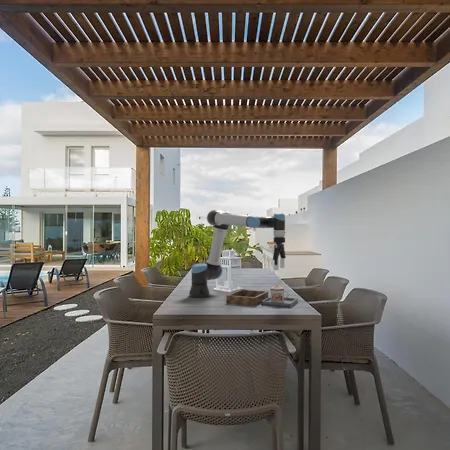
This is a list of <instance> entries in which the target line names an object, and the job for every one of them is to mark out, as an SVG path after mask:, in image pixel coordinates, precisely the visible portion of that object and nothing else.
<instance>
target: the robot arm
mask: <svg viewBox="0 0 450 450" xmlns="http://www.w3.org/2000/svg"><path fill="white" fill-rule="evenodd" d="M272 215H273V216H258V215H257V216H256V215H245V214H232V213H231V212H230V211H227V210H220V209H219V210H217V209H213V210H210V211H209V212H208V214H207V215H206V221H207V223H208V224H209V225H211V226H212V227H213V229H214V230H213V235H212V240H211V246H210V251H209V255H208V259H207V260H206V261H205V263H203V262H202V263H201V262H200V263H196V264H193V265H192V266H191V270H190V271H191V285H190V290H189V293H188V296H189V297H190V298H195V299H197V298H198V299H199V298H202V297H203V298H208V297H210V296H211V293H210V290H209V287H208V281H212V280H217V279H220V278H221V276H222V274H223V266H222V263H221V261H220V260H221V256H222V250H223V246H224V242H225V236H226V232H227V231H229V227H230V226H234V227H243V228H244V227H246V228H251V229H273V243H274V245H273V246H274V248H273V255H272V261H273V269H274V270H273V271H280V270H279V268H280V269H285V259H286V258H287V257H286V252H285V243H286V238H285V237H286V233H287V232H286V217H285V214H284V213H274V214H272ZM279 256H280V259H279ZM279 261H280V262H279ZM279 265H280V266H279Z"/></svg>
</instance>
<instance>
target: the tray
mask: <svg viewBox="0 0 450 450" xmlns="http://www.w3.org/2000/svg"><path fill="white" fill-rule="evenodd" d="M298 300H299V299H298V298H296V297H287V298H286V299H284V302H283V303H279V302H271V295H270V296H268V298H266V299H264V300H263V301H261V303H260V305H261V306H267V307H276V308H287V307H288V308H289V309H291V308H292V307H293V306H294V305H296V304H298V302H299V301H298Z"/></svg>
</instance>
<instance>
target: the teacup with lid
mask: <svg viewBox="0 0 450 450" xmlns="http://www.w3.org/2000/svg"><path fill="white" fill-rule="evenodd" d="M285 293H287V296H285ZM289 295H290V294H289V292H288V291H287V290H285V287H282V286H281V285H279V284H278V283H276V284H275V285H273V286H272V287H270V296H271V302H279V303H283V302H284V299H286V298H289Z"/></svg>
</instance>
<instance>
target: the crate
mask: <svg viewBox="0 0 450 450" xmlns="http://www.w3.org/2000/svg"><path fill="white" fill-rule="evenodd" d="M268 297H269V291H266V290H257V289H256V290H254V289H240V290H237V291H234V292H231V293H229V294H227V295H226V298H225V299H226V304H232V305H243V306H258V305H260V304H261V301H263V300H264V299H266V298H268Z"/></svg>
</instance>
